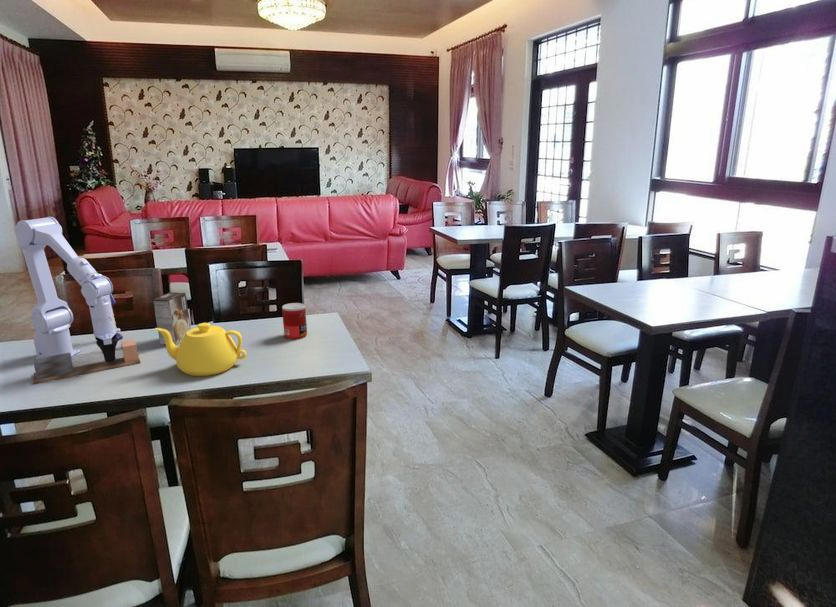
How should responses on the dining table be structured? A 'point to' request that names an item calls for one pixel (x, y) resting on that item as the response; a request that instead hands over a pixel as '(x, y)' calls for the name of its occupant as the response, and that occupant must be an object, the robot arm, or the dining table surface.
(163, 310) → the coffee box
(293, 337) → the canned food
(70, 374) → the brown wooden bar
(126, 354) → the peach-orange block
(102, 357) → the grey banded bar
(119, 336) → the toy lamp
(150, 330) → the dining table surface
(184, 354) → the teapot
